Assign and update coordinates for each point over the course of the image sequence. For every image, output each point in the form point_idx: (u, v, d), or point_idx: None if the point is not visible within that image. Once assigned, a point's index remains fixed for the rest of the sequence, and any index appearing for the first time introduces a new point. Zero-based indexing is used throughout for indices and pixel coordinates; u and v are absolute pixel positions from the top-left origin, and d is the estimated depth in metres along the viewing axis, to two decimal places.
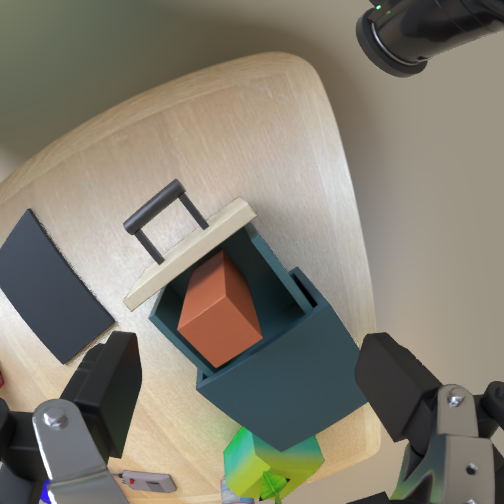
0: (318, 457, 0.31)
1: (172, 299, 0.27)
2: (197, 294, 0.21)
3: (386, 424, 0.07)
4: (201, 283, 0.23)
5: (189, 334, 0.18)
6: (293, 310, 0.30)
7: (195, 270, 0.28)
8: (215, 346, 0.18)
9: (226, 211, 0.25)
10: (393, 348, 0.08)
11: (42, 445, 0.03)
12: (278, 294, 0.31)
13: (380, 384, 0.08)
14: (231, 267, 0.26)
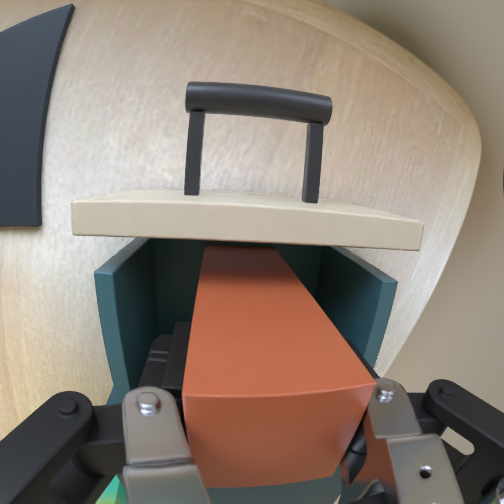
0: None
1: (147, 264, 0.14)
2: (242, 308, 0.08)
3: None
4: (246, 287, 0.10)
5: (205, 421, 0.05)
6: None
7: (215, 248, 0.15)
8: (239, 464, 0.05)
9: (344, 205, 0.13)
10: None
11: (127, 428, 0.04)
12: None
13: None
14: None
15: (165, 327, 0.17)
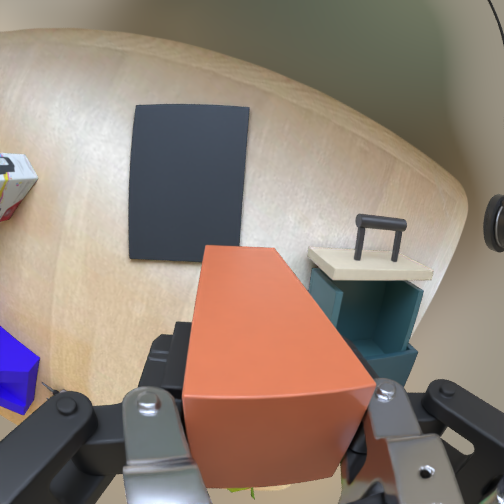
0: None
1: None
2: (242, 309, 0.08)
3: None
4: (246, 287, 0.10)
5: (205, 422, 0.05)
6: (369, 344, 0.35)
7: (215, 249, 0.15)
8: (239, 464, 0.05)
9: (403, 259, 0.31)
10: None
11: (127, 428, 0.04)
12: (367, 327, 0.36)
13: None
14: None
15: None
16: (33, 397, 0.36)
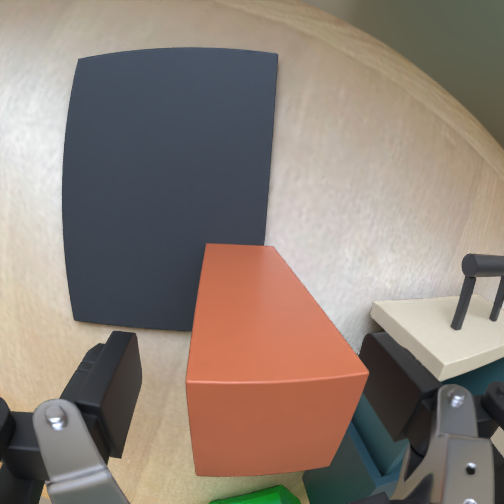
0: None
1: None
2: (242, 303, 0.09)
3: (386, 424, 0.07)
4: (245, 283, 0.11)
5: (207, 407, 0.05)
6: None
7: (215, 247, 0.16)
8: (239, 451, 0.06)
9: None
10: (393, 348, 0.08)
11: (42, 445, 0.03)
12: None
13: (380, 384, 0.08)
14: None
15: None
16: None
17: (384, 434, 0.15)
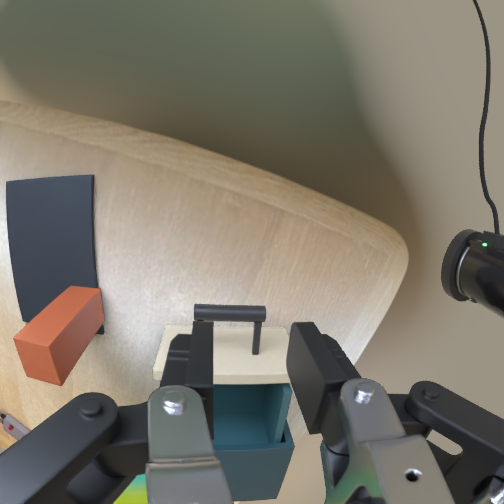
0: None
1: None
2: (45, 319, 0.19)
3: (304, 415, 0.08)
4: (56, 311, 0.21)
5: (18, 346, 0.16)
6: (255, 420, 0.31)
7: (71, 289, 0.26)
8: (31, 365, 0.16)
9: (275, 347, 0.26)
10: (312, 337, 0.09)
11: (152, 425, 0.05)
12: (253, 403, 0.32)
13: (300, 373, 0.09)
14: (89, 312, 0.24)
15: None
16: None
17: None
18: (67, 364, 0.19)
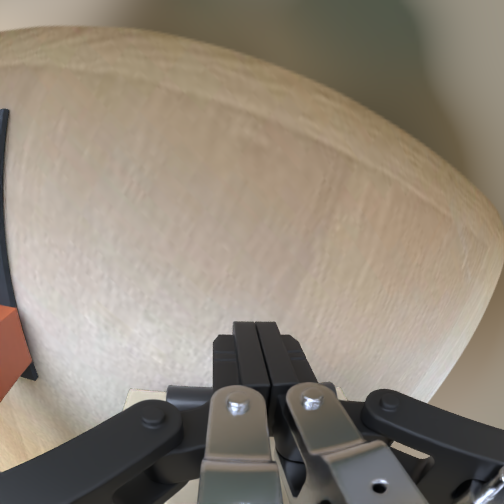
0: None
1: None
2: None
3: None
4: None
5: None
6: None
7: None
8: None
9: None
10: (270, 337, 0.09)
11: (212, 423, 0.05)
12: None
13: None
14: None
15: None
16: None
17: None
18: None
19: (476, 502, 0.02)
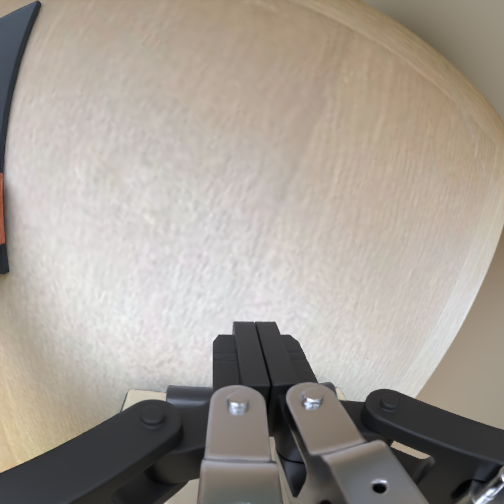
0: None
1: None
2: None
3: None
4: None
5: None
6: None
7: None
8: None
9: None
10: (270, 337, 0.09)
11: (212, 423, 0.05)
12: None
13: None
14: None
15: None
16: None
17: None
18: None
19: (476, 502, 0.02)
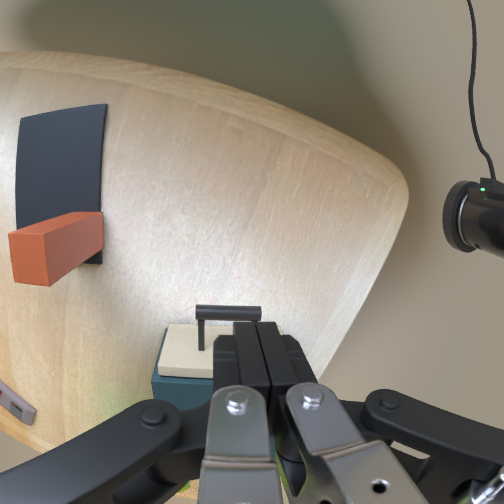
0: None
1: None
2: (44, 224, 0.19)
3: None
4: (56, 220, 0.21)
5: (12, 242, 0.16)
6: None
7: (73, 213, 0.26)
8: (21, 265, 0.16)
9: None
10: (269, 337, 0.09)
11: (212, 423, 0.05)
12: None
13: None
14: (89, 228, 0.24)
15: None
16: None
17: None
18: (59, 267, 0.19)
19: (476, 502, 0.02)
